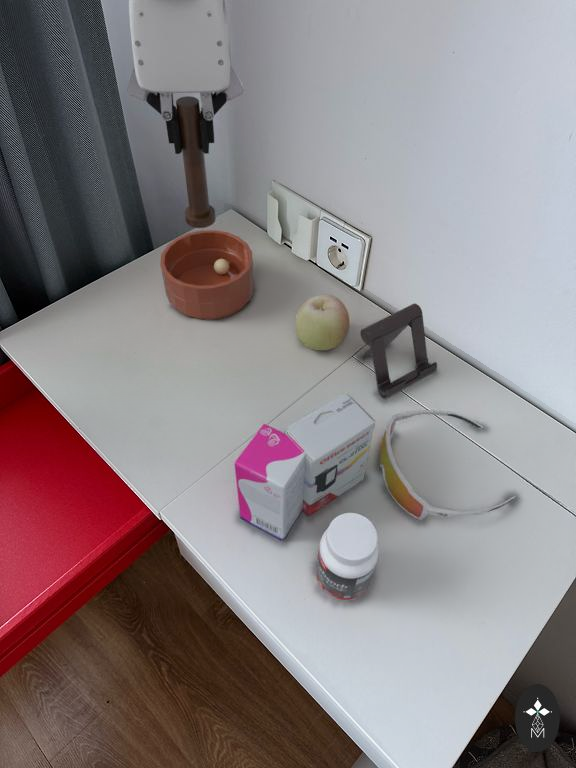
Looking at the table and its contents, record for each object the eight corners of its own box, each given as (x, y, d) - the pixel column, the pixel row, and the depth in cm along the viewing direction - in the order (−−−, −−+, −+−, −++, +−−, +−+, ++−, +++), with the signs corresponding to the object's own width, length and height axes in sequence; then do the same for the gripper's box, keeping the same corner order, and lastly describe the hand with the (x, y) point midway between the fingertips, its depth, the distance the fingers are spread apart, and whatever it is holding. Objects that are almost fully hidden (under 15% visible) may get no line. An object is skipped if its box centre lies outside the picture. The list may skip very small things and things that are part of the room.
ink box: (307, 518, 64) (311, 463, 55) (281, 487, 67) (282, 429, 58) (365, 479, 68) (378, 421, 58) (338, 450, 70) (347, 390, 61)
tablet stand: (384, 402, 75) (394, 360, 68) (348, 364, 79) (354, 321, 72) (434, 374, 78) (449, 331, 71) (397, 339, 82) (407, 295, 76)
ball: (212, 276, 89) (210, 262, 87) (218, 269, 91) (216, 255, 89) (226, 277, 88) (224, 263, 87) (232, 270, 90) (230, 256, 88)
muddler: (184, 228, 76) (168, 109, 64) (186, 211, 78) (170, 93, 66) (215, 227, 76) (204, 109, 64) (215, 210, 78) (205, 93, 66)
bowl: (164, 323, 84) (156, 289, 78) (170, 265, 92) (164, 231, 87) (254, 320, 84) (253, 286, 79) (253, 262, 92) (251, 228, 87)
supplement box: (309, 500, 66) (313, 445, 57) (283, 542, 62) (283, 491, 53) (265, 477, 67) (263, 421, 58) (238, 518, 64) (231, 464, 55)
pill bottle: (304, 574, 60) (308, 533, 53) (340, 538, 63) (349, 495, 55) (345, 614, 58) (355, 578, 50) (381, 575, 60) (396, 535, 53)
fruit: (336, 366, 79) (341, 325, 72) (287, 350, 80) (287, 308, 74) (354, 330, 83) (360, 288, 77) (307, 315, 85) (310, 273, 79)
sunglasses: (361, 429, 72) (371, 405, 68) (470, 424, 75) (485, 400, 71) (392, 534, 63) (406, 513, 59) (514, 523, 66) (535, 502, 63)
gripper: (255, -46, 58) (258, 132, 72) (92, -47, 57) (128, 133, 71) (257, -22, 53) (260, 163, 67) (80, -23, 52) (121, 165, 67)
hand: (192, 146), depth 69 cm, fingers closed on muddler, 2 cm apart
